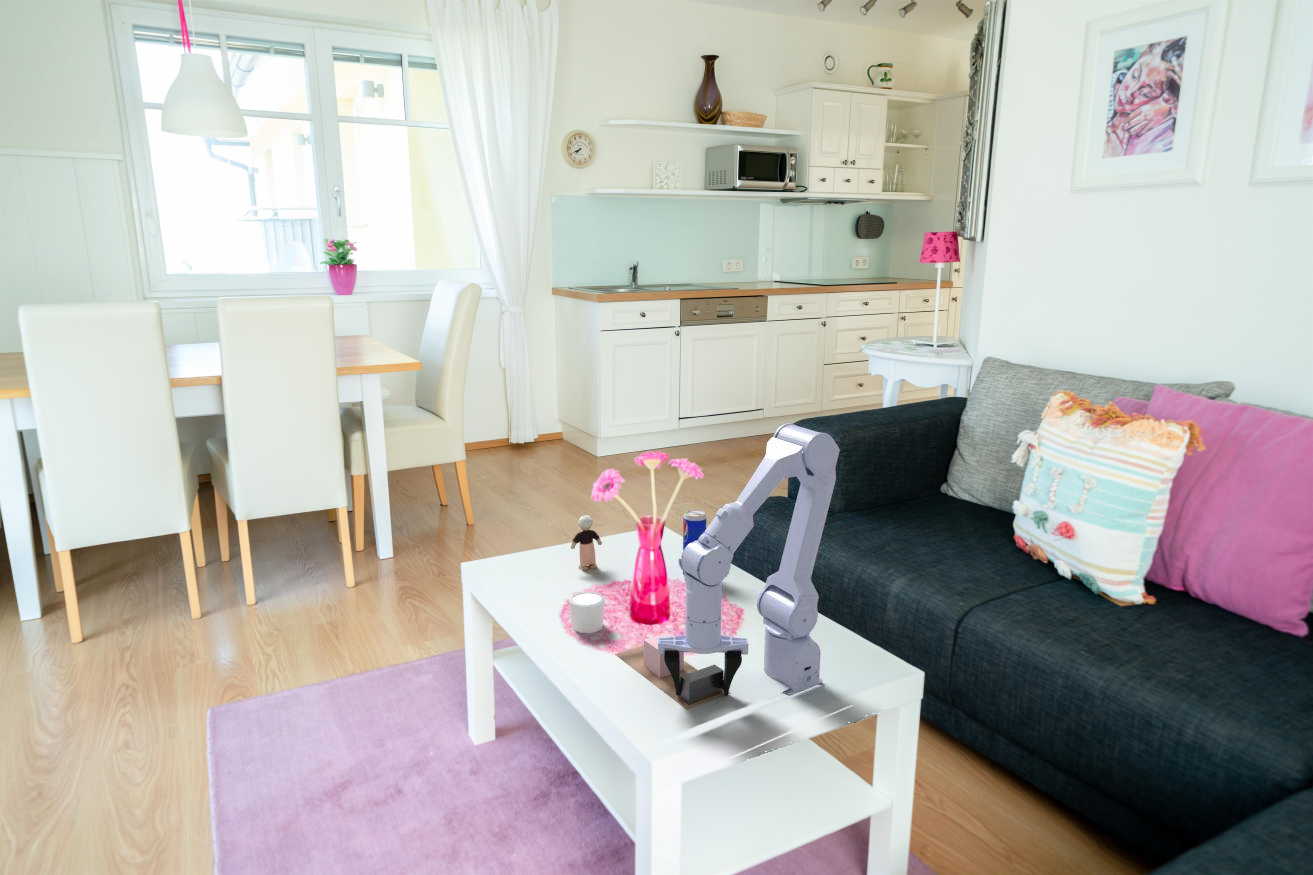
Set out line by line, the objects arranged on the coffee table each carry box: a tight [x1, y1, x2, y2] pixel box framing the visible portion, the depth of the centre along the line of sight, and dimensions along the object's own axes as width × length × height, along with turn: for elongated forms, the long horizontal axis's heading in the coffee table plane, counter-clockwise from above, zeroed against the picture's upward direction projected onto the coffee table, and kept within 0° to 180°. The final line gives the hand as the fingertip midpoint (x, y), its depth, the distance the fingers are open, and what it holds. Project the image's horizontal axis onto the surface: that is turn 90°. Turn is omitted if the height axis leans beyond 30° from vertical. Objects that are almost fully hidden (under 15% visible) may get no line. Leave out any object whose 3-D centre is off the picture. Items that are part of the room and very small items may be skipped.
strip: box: [614, 644, 731, 710], centre depth 142 cm, size 22×9×5 cm, turn 34°
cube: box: [643, 632, 685, 678], centre depth 143 cm, size 5×5×5 cm
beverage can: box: [682, 509, 707, 577], centre depth 185 cm, size 5×5×15 cm
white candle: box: [568, 591, 606, 634], centre depth 159 cm, size 7×7×7 cm
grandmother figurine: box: [570, 514, 603, 571], centre depth 190 cm, size 8×4×13 cm, turn 130°
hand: (702, 692), depth 134 cm, fingers open, 7 cm apart
